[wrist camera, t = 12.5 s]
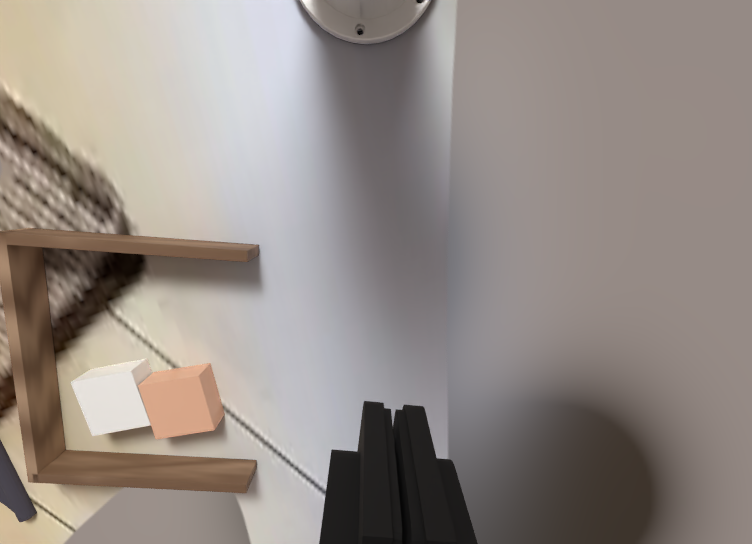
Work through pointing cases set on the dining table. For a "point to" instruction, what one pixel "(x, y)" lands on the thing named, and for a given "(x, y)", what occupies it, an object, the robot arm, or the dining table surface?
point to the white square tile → (113, 396)
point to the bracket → (13, 489)
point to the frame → (39, 376)
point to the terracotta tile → (182, 401)
